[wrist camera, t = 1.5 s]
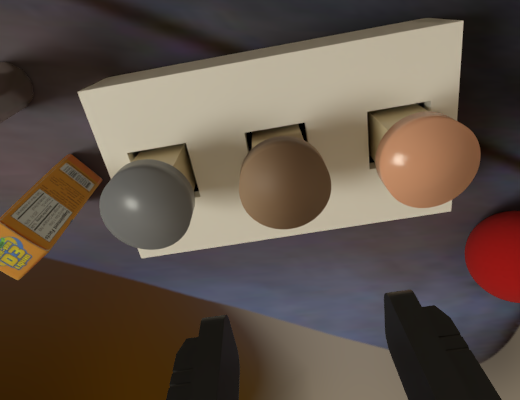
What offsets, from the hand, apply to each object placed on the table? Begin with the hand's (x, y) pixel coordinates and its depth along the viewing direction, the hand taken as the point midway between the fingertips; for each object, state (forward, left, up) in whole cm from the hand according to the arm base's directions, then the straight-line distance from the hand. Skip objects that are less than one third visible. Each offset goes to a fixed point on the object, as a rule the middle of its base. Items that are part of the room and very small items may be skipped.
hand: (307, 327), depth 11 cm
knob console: (0, 0, -19) cm, 19 cm away
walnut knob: (0, 0, -16) cm, 16 cm away
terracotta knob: (+7, 0, -16) cm, 18 cm away
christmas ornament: (+17, -12, -20) cm, 29 cm away
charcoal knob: (-8, 0, -16) cm, 18 cm away
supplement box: (-16, -1, -20) cm, 25 cm away
